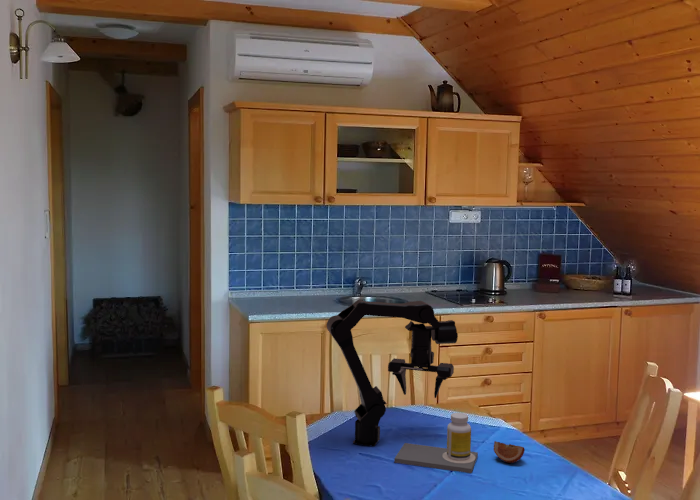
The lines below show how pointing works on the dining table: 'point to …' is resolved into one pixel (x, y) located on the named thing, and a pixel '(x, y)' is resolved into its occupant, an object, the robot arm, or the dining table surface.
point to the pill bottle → (459, 437)
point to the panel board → (433, 458)
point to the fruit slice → (508, 452)
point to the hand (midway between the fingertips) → (420, 396)
